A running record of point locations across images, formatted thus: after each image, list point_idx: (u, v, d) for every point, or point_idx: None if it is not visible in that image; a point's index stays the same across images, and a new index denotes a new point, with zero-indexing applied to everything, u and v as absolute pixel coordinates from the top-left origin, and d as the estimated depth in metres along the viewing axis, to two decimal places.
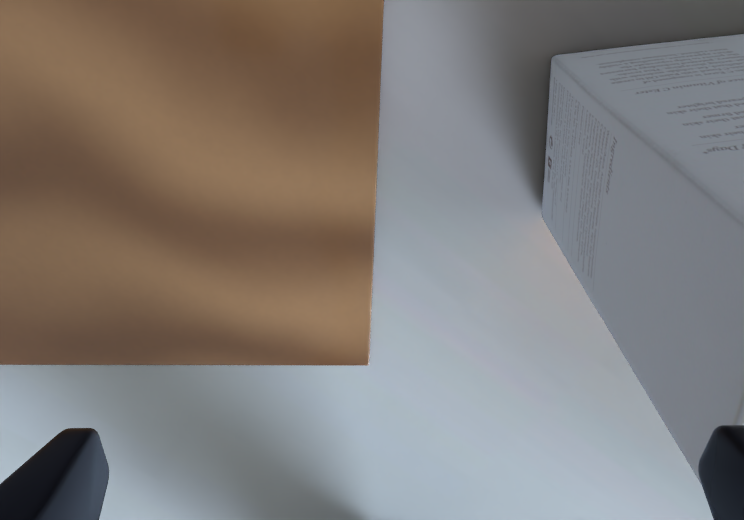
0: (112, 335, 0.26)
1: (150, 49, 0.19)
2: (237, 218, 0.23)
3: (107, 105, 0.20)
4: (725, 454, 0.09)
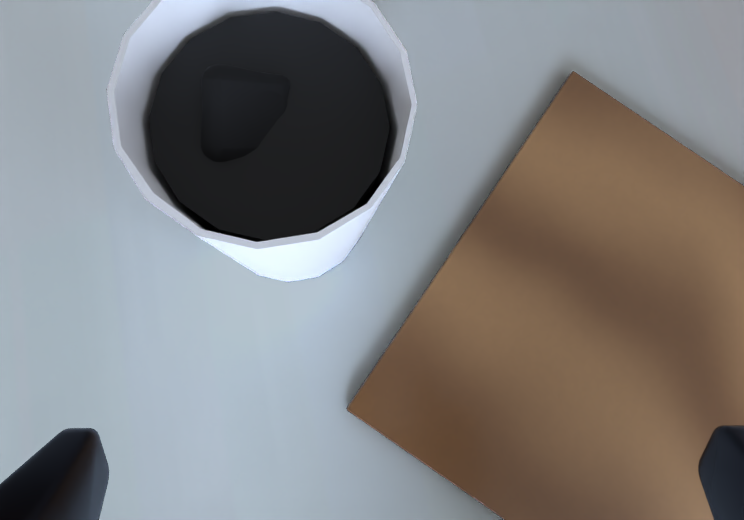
0: (580, 514, 0.22)
1: None
2: None
3: None
4: (725, 454, 0.08)
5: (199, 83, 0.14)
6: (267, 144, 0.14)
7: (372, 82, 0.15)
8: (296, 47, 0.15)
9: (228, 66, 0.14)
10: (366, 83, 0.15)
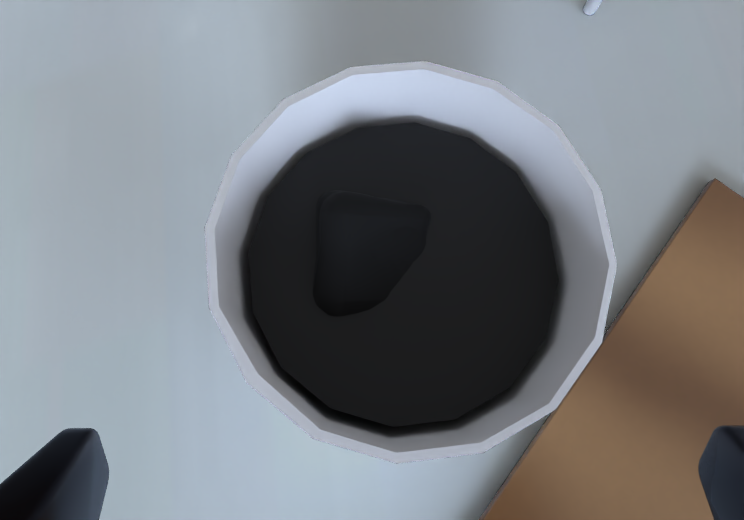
0: None
1: None
2: None
3: None
4: (725, 454, 0.08)
5: (314, 210, 0.11)
6: (398, 294, 0.11)
7: (535, 218, 0.11)
8: (439, 168, 0.12)
9: (358, 196, 0.11)
10: (528, 219, 0.11)
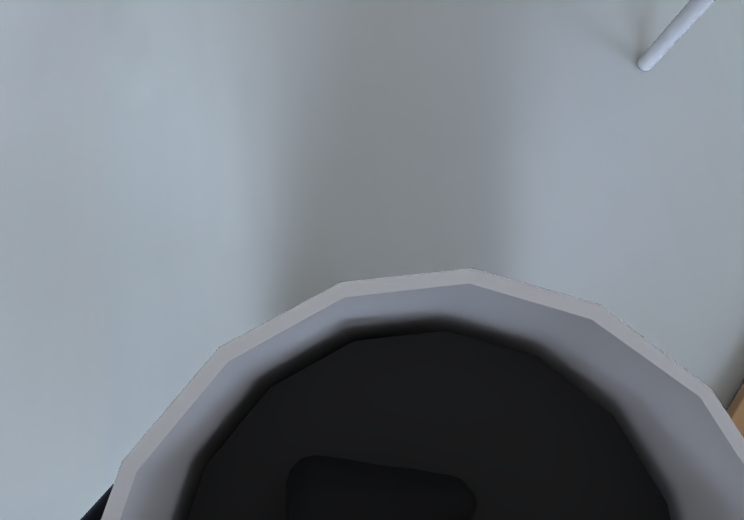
0: None
1: None
2: None
3: None
4: None
5: (283, 492, 0.07)
6: None
7: (647, 497, 0.07)
8: (488, 411, 0.07)
9: (355, 497, 0.06)
10: (634, 499, 0.07)
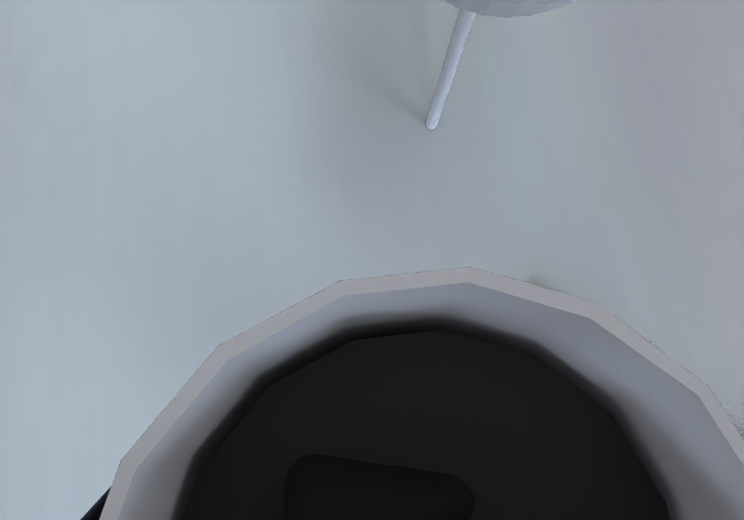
0: None
1: None
2: None
3: None
4: None
5: (281, 491, 0.07)
6: None
7: (646, 496, 0.07)
8: (487, 409, 0.07)
9: (354, 495, 0.06)
10: (633, 498, 0.07)
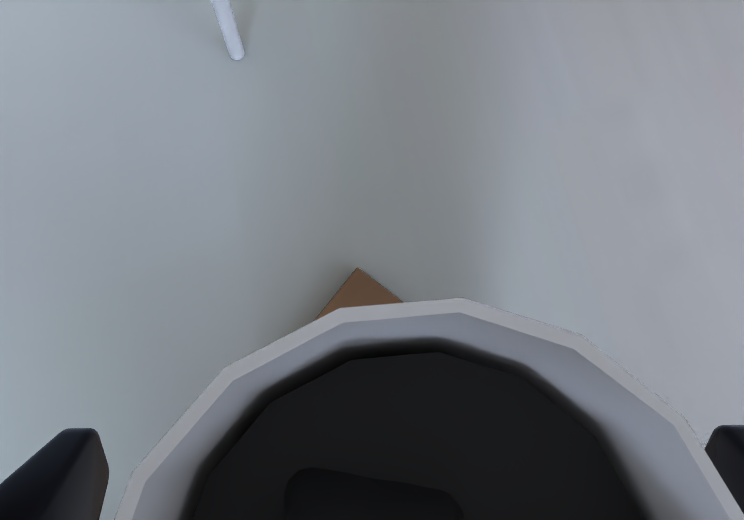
0: None
1: None
2: None
3: None
4: (725, 454, 0.08)
5: (281, 501, 0.07)
6: None
7: (626, 516, 0.07)
8: (478, 430, 0.07)
9: (348, 509, 0.07)
10: (614, 517, 0.07)
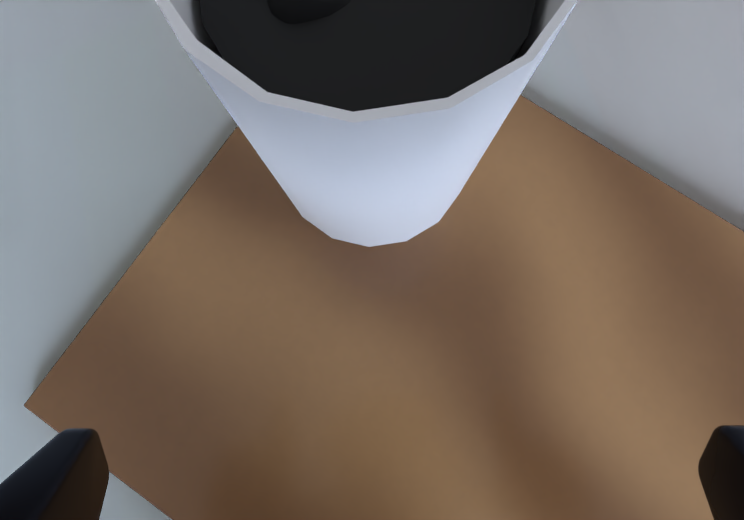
0: None
1: (646, 264, 0.18)
2: (606, 492, 0.17)
3: (562, 283, 0.18)
4: (725, 454, 0.09)
5: None
6: None
7: None
8: None
9: None
10: None
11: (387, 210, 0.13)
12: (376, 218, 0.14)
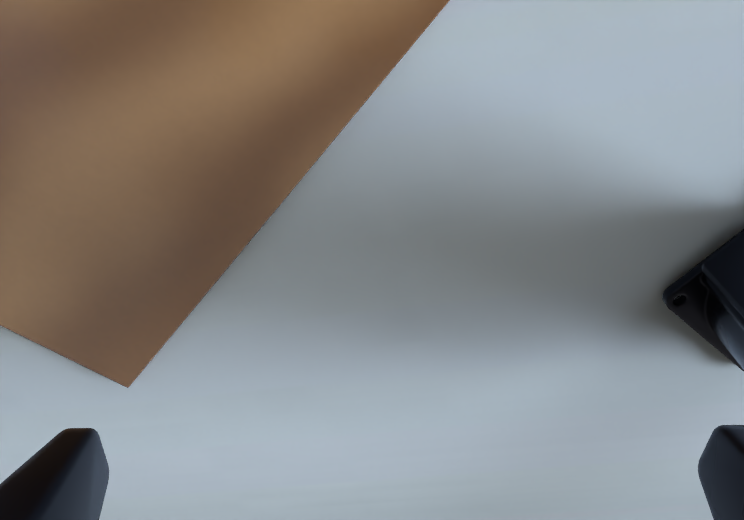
0: (209, 215, 0.21)
1: None
2: None
3: None
4: (725, 454, 0.08)
5: None
6: None
7: None
8: None
9: None
10: None
11: None
12: None
